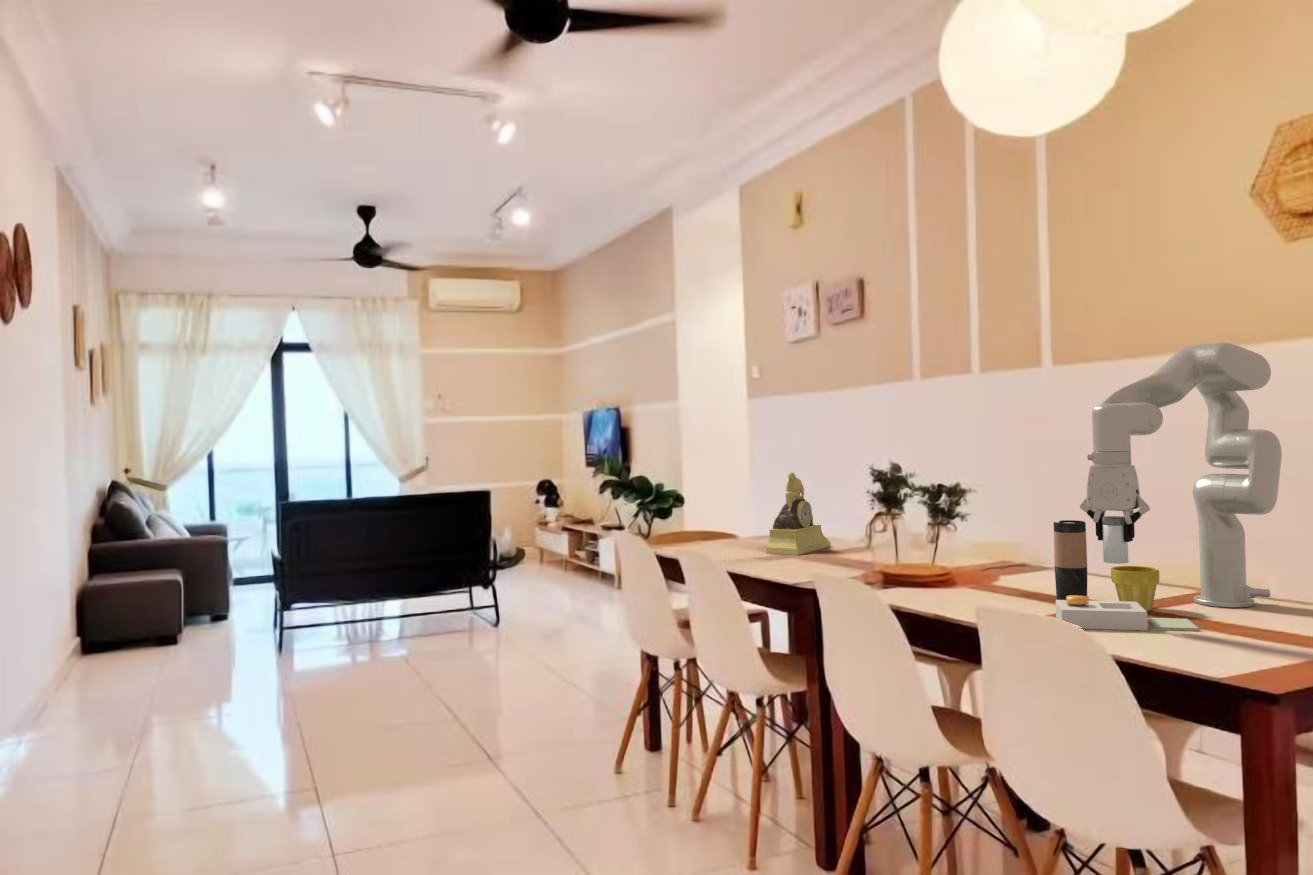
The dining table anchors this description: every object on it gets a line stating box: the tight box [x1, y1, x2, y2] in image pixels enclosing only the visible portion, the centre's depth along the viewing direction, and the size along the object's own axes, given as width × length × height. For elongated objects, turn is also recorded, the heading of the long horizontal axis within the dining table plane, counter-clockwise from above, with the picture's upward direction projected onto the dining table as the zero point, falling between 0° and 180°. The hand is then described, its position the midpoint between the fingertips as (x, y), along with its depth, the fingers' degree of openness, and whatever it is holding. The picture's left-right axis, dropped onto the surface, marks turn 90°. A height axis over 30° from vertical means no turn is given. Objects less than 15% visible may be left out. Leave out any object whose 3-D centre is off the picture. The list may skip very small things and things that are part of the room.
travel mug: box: [1053, 519, 1088, 600], centre depth 233 cm, size 8×8×20 cm
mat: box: [1147, 617, 1200, 632], centre depth 201 cm, size 8×10×1 cm
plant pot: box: [1110, 565, 1160, 612], centre depth 220 cm, size 10×10×10 cm
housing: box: [1055, 599, 1149, 631], centre depth 205 cm, size 17×12×4 cm
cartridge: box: [1102, 515, 1129, 565], centre depth 204 cm, size 5×5×10 cm
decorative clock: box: [765, 471, 831, 556], centre depth 347 cm, size 28×13×30 cm, turn 144°
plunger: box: [1066, 595, 1090, 607], centre depth 207 cm, size 5×5×4 cm
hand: (1115, 539), depth 204 cm, fingers closed on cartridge, 5 cm apart
